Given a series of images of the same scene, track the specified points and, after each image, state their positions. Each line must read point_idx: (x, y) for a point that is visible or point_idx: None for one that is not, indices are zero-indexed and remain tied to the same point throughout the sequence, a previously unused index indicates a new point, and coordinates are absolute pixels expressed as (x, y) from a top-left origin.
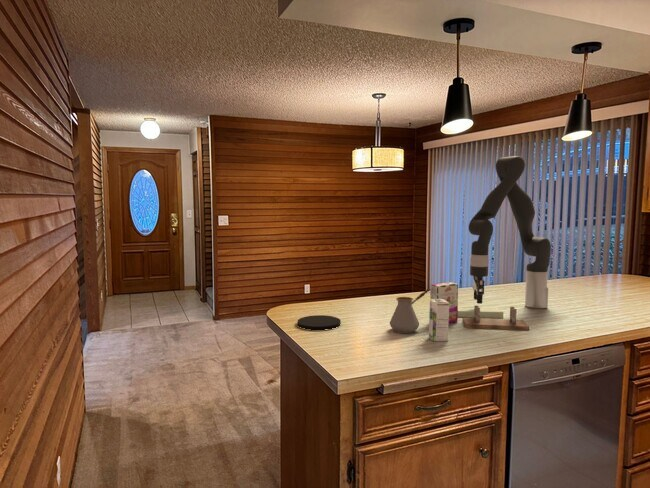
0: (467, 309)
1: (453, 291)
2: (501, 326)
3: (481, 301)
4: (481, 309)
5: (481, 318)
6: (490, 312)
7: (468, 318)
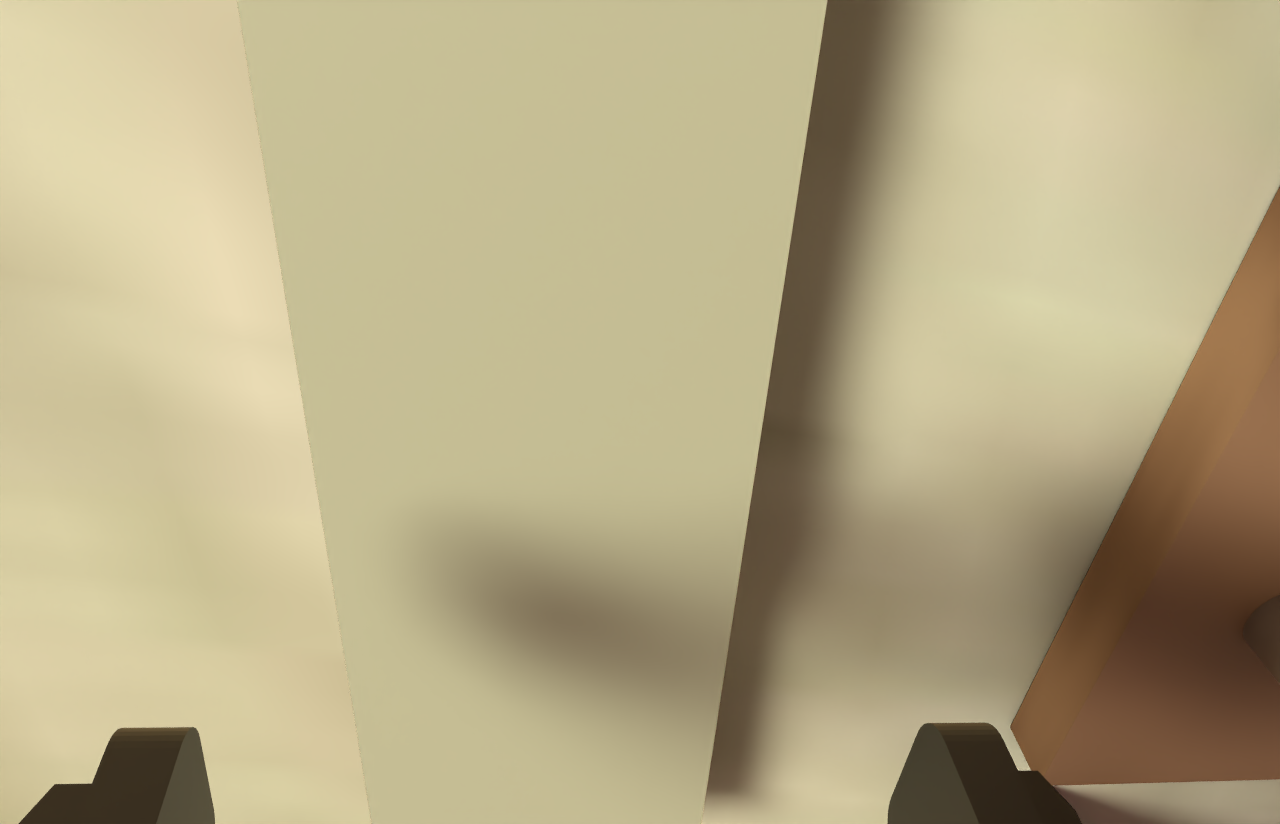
0: (509, 727)
1: None
2: None
3: (1075, 814)
4: (459, 427)
5: (1189, 508)
6: (786, 216)
7: (1112, 713)
